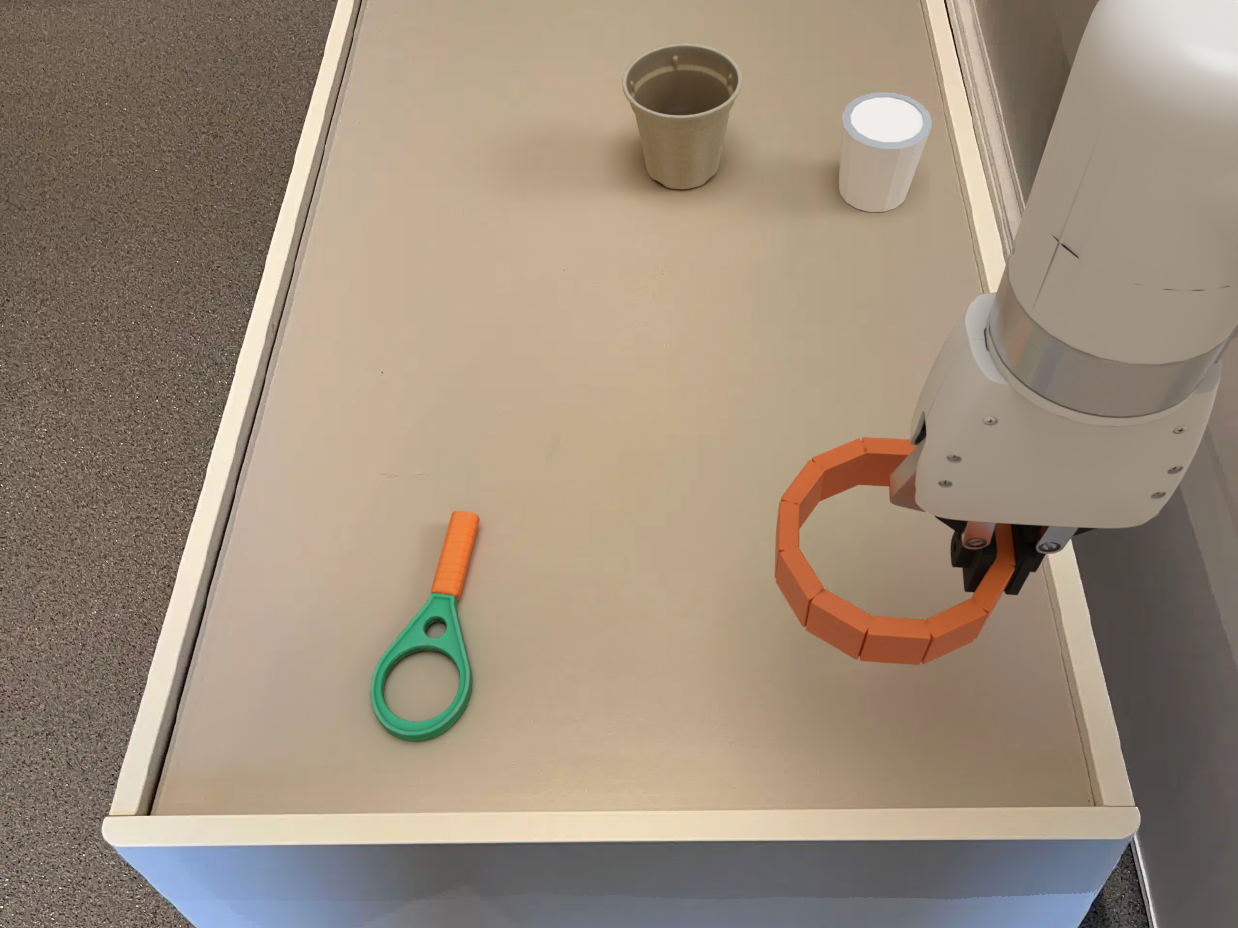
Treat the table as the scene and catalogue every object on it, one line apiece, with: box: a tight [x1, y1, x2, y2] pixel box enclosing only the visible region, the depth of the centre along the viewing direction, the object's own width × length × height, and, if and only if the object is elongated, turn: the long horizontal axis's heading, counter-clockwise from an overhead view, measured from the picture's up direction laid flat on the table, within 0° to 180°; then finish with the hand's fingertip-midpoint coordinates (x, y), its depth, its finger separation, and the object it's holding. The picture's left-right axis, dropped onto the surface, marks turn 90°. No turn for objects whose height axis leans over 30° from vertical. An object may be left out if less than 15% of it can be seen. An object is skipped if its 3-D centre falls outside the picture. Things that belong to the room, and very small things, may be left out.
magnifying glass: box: [369, 510, 481, 742], centre depth 66 cm, size 15×6×2 cm, turn 171°
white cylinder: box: [838, 91, 933, 213], centre depth 84 cm, size 7×7×7 cm
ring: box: [774, 436, 1015, 666], centre depth 51 cm, size 11×11×3 cm
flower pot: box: [621, 42, 743, 190], centre depth 86 cm, size 9×9×9 cm
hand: (987, 566), depth 52 cm, fingers closed on ring, 1 cm apart
